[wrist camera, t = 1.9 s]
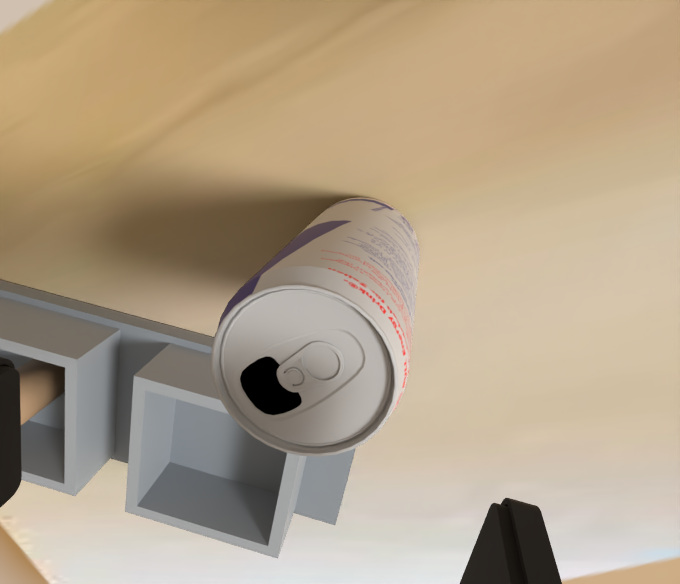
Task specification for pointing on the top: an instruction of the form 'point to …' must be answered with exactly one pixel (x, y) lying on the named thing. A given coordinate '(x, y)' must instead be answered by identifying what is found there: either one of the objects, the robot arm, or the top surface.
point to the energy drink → (323, 333)
